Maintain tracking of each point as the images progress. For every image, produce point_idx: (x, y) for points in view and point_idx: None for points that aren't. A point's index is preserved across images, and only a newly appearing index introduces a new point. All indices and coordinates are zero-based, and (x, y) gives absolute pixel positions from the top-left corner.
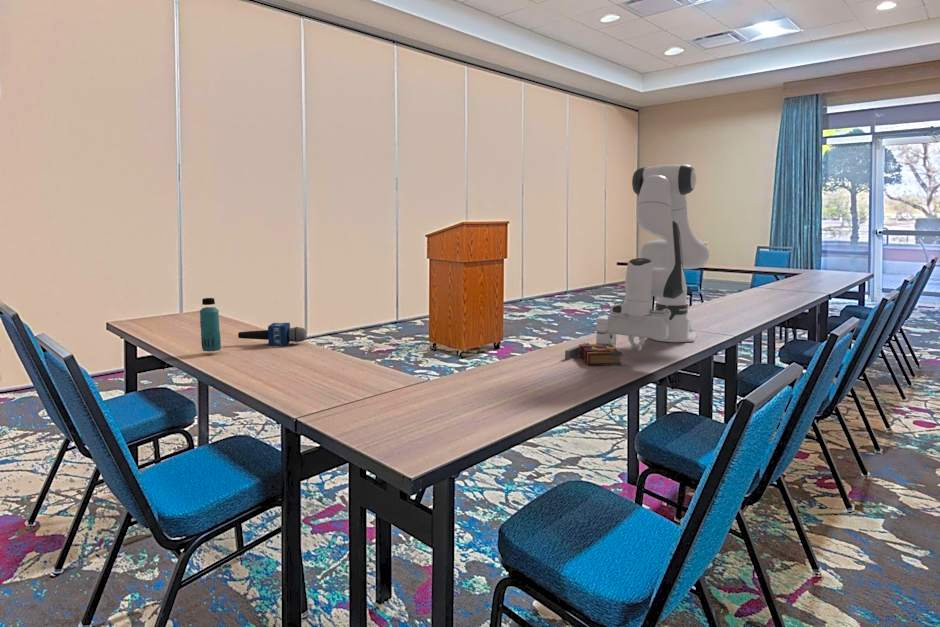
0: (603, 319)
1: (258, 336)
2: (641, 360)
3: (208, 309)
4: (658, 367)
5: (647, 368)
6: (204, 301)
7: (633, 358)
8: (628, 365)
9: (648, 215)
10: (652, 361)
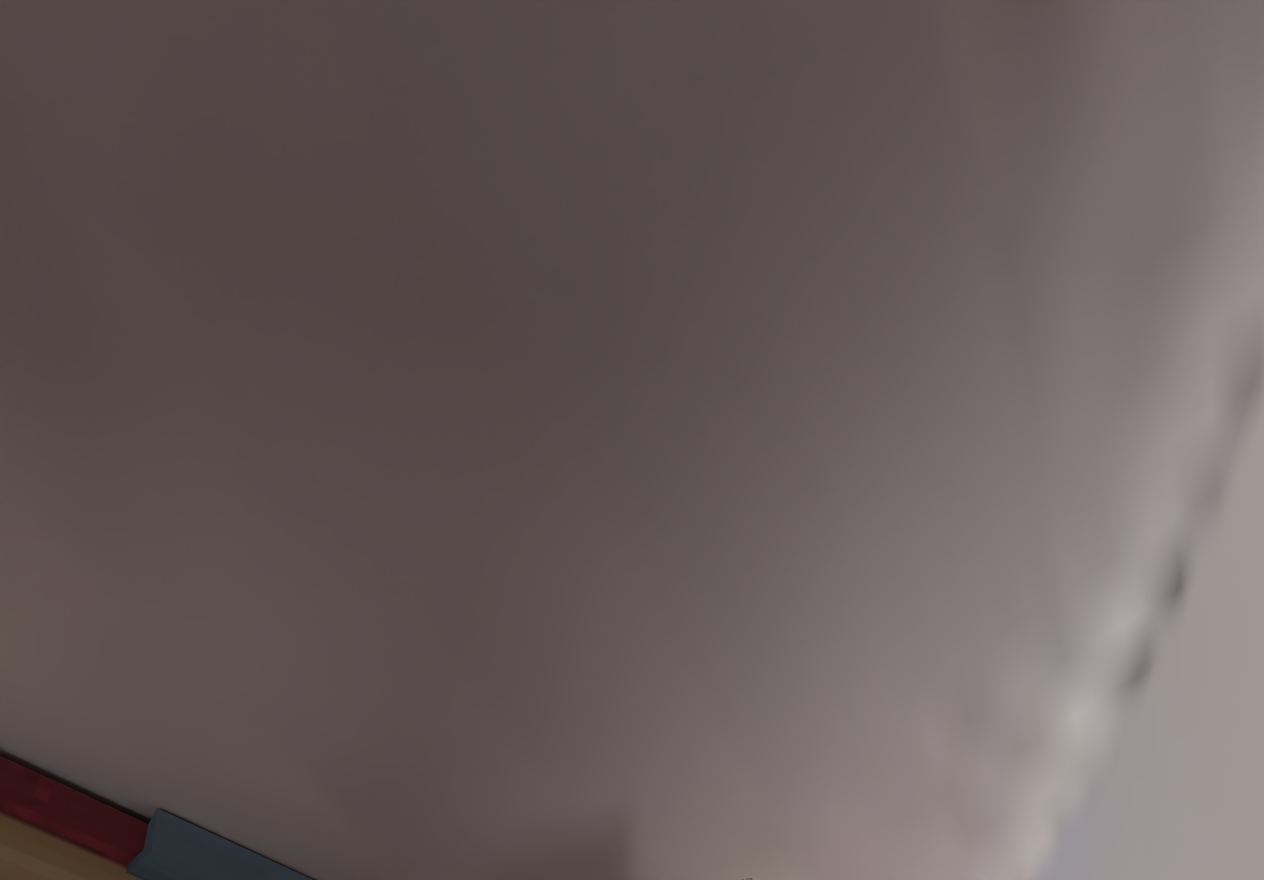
0: None
1: None
2: (489, 190)
3: None
4: (1116, 563)
5: (920, 756)
6: None
7: (90, 89)
8: (488, 820)
9: None
10: (846, 82)
